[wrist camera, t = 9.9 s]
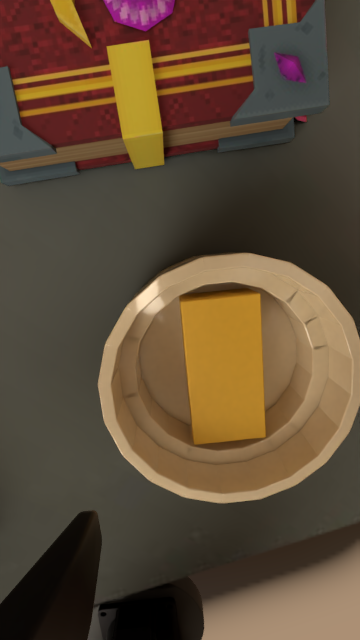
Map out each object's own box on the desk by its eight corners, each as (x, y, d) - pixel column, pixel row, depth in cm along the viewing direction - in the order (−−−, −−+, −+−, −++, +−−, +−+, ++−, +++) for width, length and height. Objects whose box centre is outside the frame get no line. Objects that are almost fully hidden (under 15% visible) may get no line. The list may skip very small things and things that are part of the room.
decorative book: (-55, -73, 14) (-175, -247, 9) (292, -126, 14) (359, -329, 9) (12, 189, 16) (-54, 162, 12) (308, 143, 16) (366, 97, 12)
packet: (254, 414, 19) (266, 437, 17) (190, 421, 19) (193, 445, 17) (248, 287, 17) (261, 293, 15) (178, 294, 17) (180, 301, 15)
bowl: (314, 432, 20) (360, 489, 15) (131, 451, 20) (119, 515, 15) (314, 244, 18) (370, 240, 13) (103, 264, 18) (78, 268, 13)
